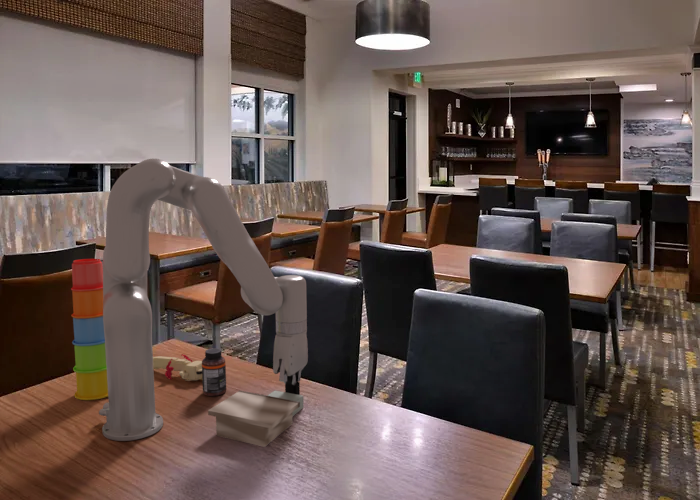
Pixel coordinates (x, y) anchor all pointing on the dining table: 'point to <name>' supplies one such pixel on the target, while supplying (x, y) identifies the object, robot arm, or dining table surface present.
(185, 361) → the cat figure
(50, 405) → the dining table surface
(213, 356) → the supplement bottle
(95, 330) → the stacking cups
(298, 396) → the pale green tile
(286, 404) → the beige wooden box
